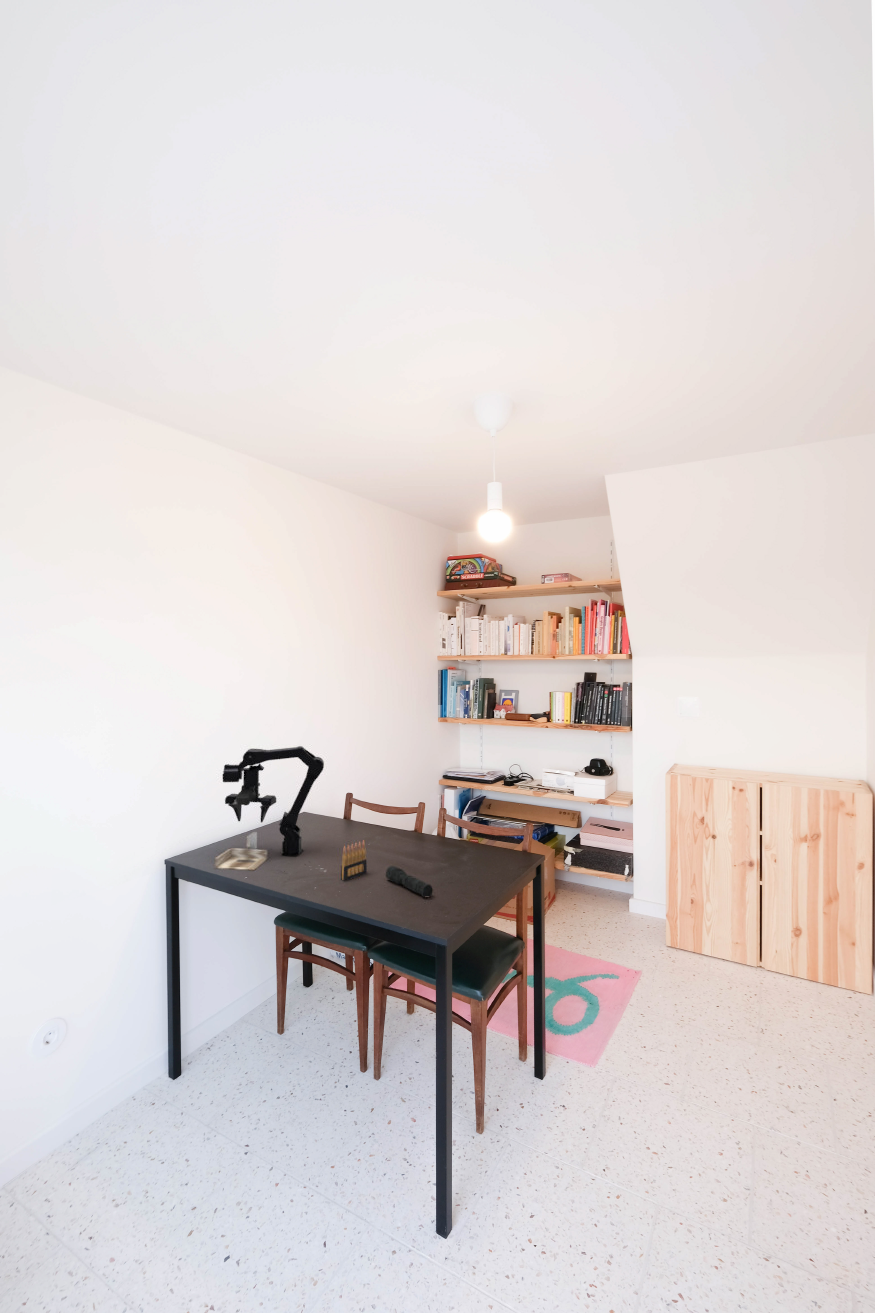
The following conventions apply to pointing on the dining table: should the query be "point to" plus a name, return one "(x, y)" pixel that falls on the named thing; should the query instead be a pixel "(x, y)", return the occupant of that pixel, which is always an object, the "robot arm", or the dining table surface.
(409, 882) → the flashlight
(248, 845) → the bracket
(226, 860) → the tray
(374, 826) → the dining table surface
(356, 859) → the ammunition clip
